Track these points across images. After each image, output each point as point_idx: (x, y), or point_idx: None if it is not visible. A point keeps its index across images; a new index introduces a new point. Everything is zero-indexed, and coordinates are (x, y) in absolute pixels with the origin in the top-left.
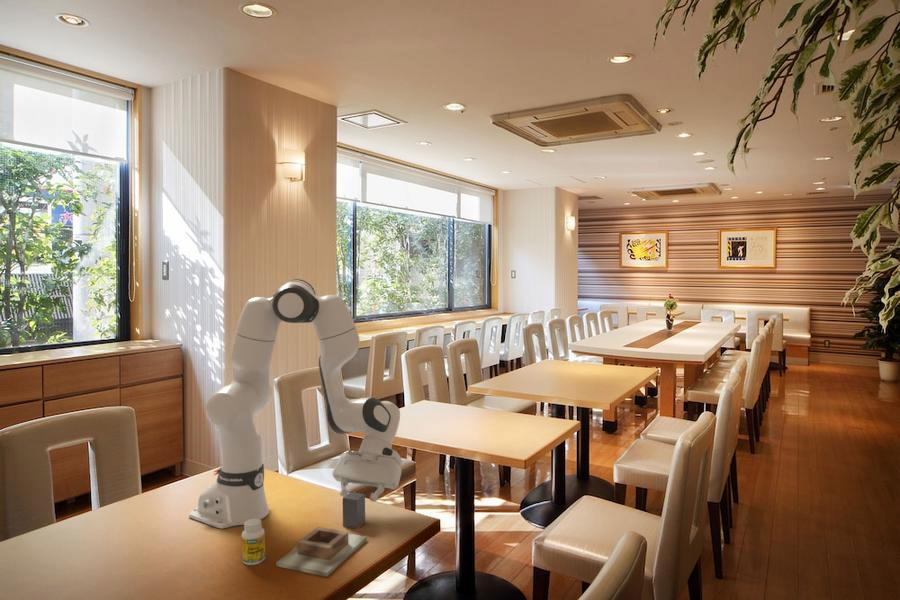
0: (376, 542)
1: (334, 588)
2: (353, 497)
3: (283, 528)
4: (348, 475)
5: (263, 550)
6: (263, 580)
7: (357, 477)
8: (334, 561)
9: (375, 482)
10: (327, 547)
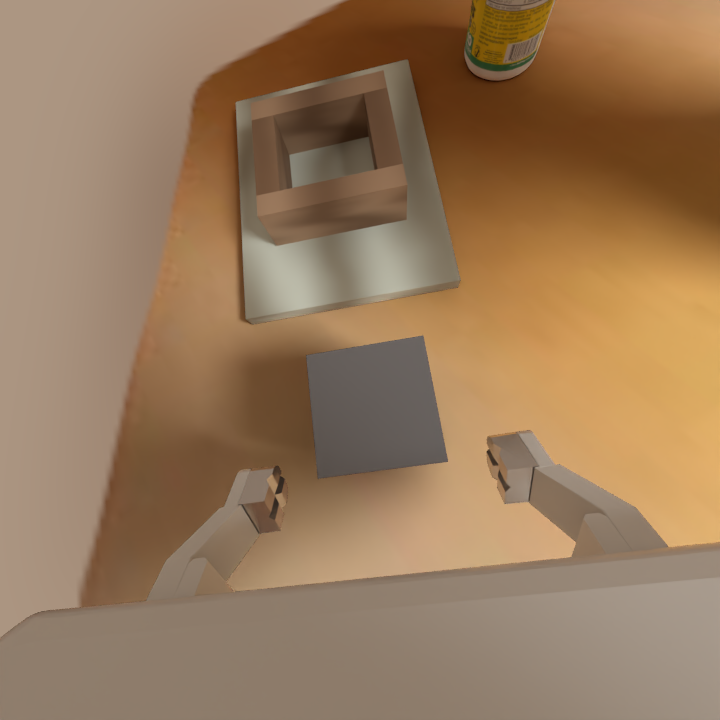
0: (213, 331)
1: (195, 95)
2: (357, 380)
3: (626, 233)
4: (609, 590)
5: (473, 24)
6: (381, 24)
7: (450, 591)
8: (251, 148)
9: (210, 594)
10: (259, 104)
